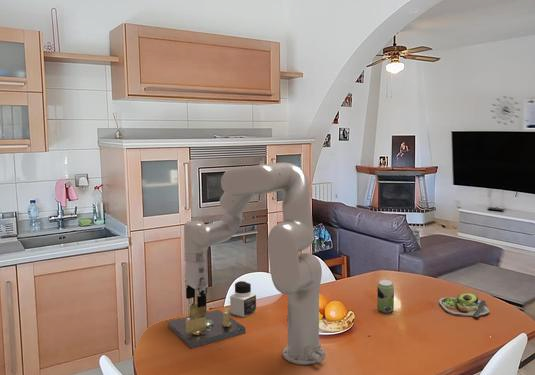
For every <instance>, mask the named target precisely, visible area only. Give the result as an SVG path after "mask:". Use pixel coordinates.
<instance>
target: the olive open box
mask: <svg viewBox="0 0 535 375" xmlns="http://www.w3.org/2000/svg"><path fill="white" fill-rule="evenodd" d="M207 312H208V310H207V305H206V306H203V307H197V302H192V303H191V302H190V303H188V304H187V315H188V316H187V317H190V318H192V317H197V316H201V315H204V314H207Z"/></svg>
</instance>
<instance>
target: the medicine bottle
mask: <svg viewBox="0 0 535 375" xmlns="http://www.w3.org/2000/svg"><path fill="white" fill-rule="evenodd" d="M251 286H252V283H251V282H250V281H247V280H239V281H238V282H235V283H234V293H233V294H231V295H230V297H229V300H230V302H229V304H230V306H229V307H230V315H233V316H238V317H241V318H247V317H249V316H251V315H253V314H254V313H257V294H256V293H252V287H251Z"/></svg>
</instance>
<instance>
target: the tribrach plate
mask: <svg viewBox="0 0 535 375" xmlns="http://www.w3.org/2000/svg"><path fill="white" fill-rule="evenodd" d="M223 312H224V311H221V310H220V309H215V310H211V311H207V314H204V316H205V317H206V329H205V330H202V331H201V334H199V335H192V334H191V333H190V334H188V333H186V319H187V318H190V317H188V316H186V317H183V318H179V319H175V320H170V321H168V322H167V324H168V328H169V329H170V330H171V332H173V333H174V334H175V335H176V336H177V337H178V338H179V339H180V340H182V342H184V344H186V345H187V346H188V347H189V348H190V349H195V348H198V347H202V346H205V345H209V344H211V343H215V342H216V343H217V342H219V341H223V340H226V339H229V338H234V337H236V336H240V335H244V334H246V327H245V326H244V325H243V324H241V323H239V322H238V321H237V320H235V319H233V318H232V317H231V316H230V321H231V326H229V327H224V326H222V322H223ZM192 318H193V317H192Z"/></svg>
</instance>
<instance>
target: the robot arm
mask: <svg viewBox="0 0 535 375" xmlns="http://www.w3.org/2000/svg"><path fill="white" fill-rule="evenodd" d="M220 180H221V181H220V184H221V185H220V187H221V189H222V190H223V191H224V192H223V194H222V195H221V197H220V198H219V205H220V207H221V209H223V210H224V211H225V213H224V214H223V216H222V217H221V218H220V219H219V221H214V222H211V223H208V224H207V223H206V224H205V222H204V221H201V220H190V221H186V222H185V223H184V225H183V241H184V242H183V243H184V244H183V245H184V246H183V248H184V251H183V252H184V262H185V266H184V282H185V299H187V300H188V299H193V298H195V296H196V294H195V292H197V296H196V300H197V301H196V303H197V307H203V306H206V307H207V294H208V289H209V287H208V286H209V277H208V267H207V261H206V260H207V253H206V252H207V249H206V248H210V247H212V246H216V245H219V244H222V243H225V242H227V241H229V240H230V239H231V238H232V237H233V236H234V235H235V234H236V233H237V231H238V230H239V228H240V227H241V225H242V220H243V212H244V210H245V208H246V207H247V205H249V203H250V201H251V200H252V199H253V197H254V196H255V195H265V194H271V193H276V192H280V191H283V192H284V194H283V198H282V203H281V210H282V218H283V219H282V221H283V222H281V223H278V224H276V225H274V226H273V227H272V228H271V230H270V231H269V233H268V237H267V250H268V258H269V259H268V260H269V267H270V275H271V276H270V278H271V281H272V283H273V286H274V288H275V289H276V290H277V291H278V292H279V293H281V294H283V295H287V345H286V346H285V347H284V348H283V350H282V356H283V358H284V359H285V360H286V361H287V362H289V363H292V364H295V365H302V366H304V365H313V364H317V363H321V362H322V361H323V359H324V358H325V356H326V353H325V350H324V349H323V348H322V345H321V343H320V290H321V289H320V288H321V284H322V283H321V281H322V275H323V272H322V269H323V268H322V264H321V262H320V260H319V259H318V257H317V256H315V255H314V254H312V253H308V252H303V251H304V250H305V249H308V248H309V247H311V246H312V245H313V242H314V239H315V238H314V237H315V235H314V225H313V216H312V214H313V213H312V207H311V199H310V198H311V197H310V193H311V192H310V183H309V180H308V176H307V175H306V173H305V171H304V170H302V168H300V167H299V166H298V165H296V164H294V163H290V162H276V163H275V162H273V163H265V164H258V165H252V166H251V165H250V166H249V165H246V166H238V167H237V166H236V167H231V168H229V169H227V170H226V171H225V172H224V173H223V174H222V177H221V179H220ZM301 251H302V253H299V252H301Z"/></svg>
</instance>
